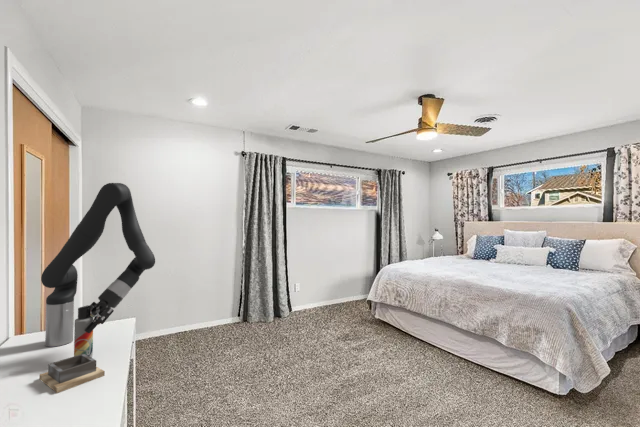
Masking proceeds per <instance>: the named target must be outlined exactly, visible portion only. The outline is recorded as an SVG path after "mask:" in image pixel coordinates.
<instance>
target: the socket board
mask: <svg viewBox="0 0 640 427" xmlns="http://www.w3.org/2000/svg"><path fill="white" fill-rule="evenodd" d="M47 367H48V368H47V371H46V372H43V373H40V374H39V378H38V379H39V380H40V381H41V382H42V381H43V382H42V383H44V384H45V385H46V386H48V387H49V388H50V389H52V390H53V391H54V392H55V393H56V394H59V393H62V392H64V391H66V390H70V389H72V388H74V387H77V386H81V385H83V384H85V383H89V382H91V381H94V380H96V379H100V378H102V377H104V376H105V370H103V369H102V368H100V367H98V366H97V359H94V358H93V357H92V358H91V357H89V356H87V355H85V354H80V355H77V356H74V355H73V356H71V357H68V358H64V359H61V360H57V361H55V362H51V363H49V364H48V365H47Z"/></svg>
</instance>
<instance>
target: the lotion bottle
mask: <svg viewBox="0 0 640 427" xmlns="http://www.w3.org/2000/svg"><path fill="white" fill-rule="evenodd" d="M90 308H91V307H90V305H83V306H80V307H77V318H76V319H74V328H73V357H74V356H77V355H80V354H85V355H87V356H89V357H91V358H93V355H94V354H93V353H94V348H93V347H94V329H93V330H92V332H91V333H87V332H85V329H86V328H87V327H88V325H89V324H90V323H91V322H93V320H94V317H90Z"/></svg>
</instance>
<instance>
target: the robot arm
mask: <svg viewBox="0 0 640 427" xmlns="http://www.w3.org/2000/svg"><path fill="white" fill-rule="evenodd" d="M133 201H134V200H133V196H132V192H131V188H129V186H128V185H127V184H126V183H125V184H124V183H121V182H109V183H106V184H104V185H103V186H101V187H100V189H99V191H98V193H97V195H96V196H95V198H94V201H93V203H92V204H91V205H90V208H89V209H88V211H86V213H85V214H84V216H83V218H81V220H80V221H79V223H78V224H77V226H76V227H75V229H74V231H73V232H71V235H70V237H69V238H68V239H67V241H66V242H65V244H63V247H62V248H61V249H60V251H59V252H58V253H57V255H56V256H55V257H54V258H53V259H52V260H51V261H50V263H49V264H48V265H47V266H46V267H45V269H43V271H42V273H41V277H40V278H41V280H40V281H41V284H42V285H43V286H44V287H45V288H48V289H54V290H53V291H52V292H51V293H50V294H48V296H47V297H46V299H45V337H44V338H45V340H44V341H45V342H44V346H46V347H60V346H64V345H67V344H70V343H72V342H74V326H75V319H74V314H75V306H74V305H75V296H76V295H77V290H78V278H79V277H78V270H77V268H76V266H75V265H74V264H75V262H77V260H79V259H80V258H81V257H83V256H84V255H85V254H86V253H88V252H89V251H90V250H91V249H92V248H93V247H94V246H95V244H97V242H98V241H99V239H100V238H101V236H102V235H103V233H104V229H105V227H106V222H107V219H108V217H109V216H110V214H111V212H112V211H113V210H114V209H115V207H116V208H117V210H118V212H119V215H120V220H121V231H122V234H123V238H124V241H125V243H126V245H127V247H128V249H129V250H130V251H131V252H132V253H133V254H134V256H135V257H134V258H133V259H132V260H131V261H130V262H129V264H128V265H127V267H126V268H125V270H124V271H122V272H121V274H119V275H118V276H117V277H116V279H114V280H113V282H111V283H110V284H109V285H108V286H107V287H106V289H104V291H103V292H102V293H101V294H100V295H99V296H98V297H97V299H98V300H99V301H98V302H96V301H93V302H91V304H90V305H89V306H90V307H91V308H90V317H93V322H91V323H90V324H89V325H88V327H87V328H86V329H85V332H87V333H91V332H92V330H93V331H94V329H95V328H96V327H97V326H98V325H99V326H100V325H103V324H104V323H106V321H107V320H108V319H109V318H110V316H111V315H112V314H113V313H114V309H115V308H117V307H118V305H119V304H120V303H121V302H122V301H123V300H124V298H126V297H127V295H128V294H129V292H130V291H131V289H133V287H134V286H135V285H136V284H137V283H138V282H139V280H140V276H141V275H142V274H143V273H144V272H145V270H151V269H152V268H153V267H154V266H155V265H156V258H155V255H154V252H153V251H152V250H151V248H150V247H149V245H148V244H147V241H146V239H145V236H144V234H143V231H142V229H141V226H140V223H139V220H138V218H137V214H136V210H135V206H134V202H133Z"/></svg>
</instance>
